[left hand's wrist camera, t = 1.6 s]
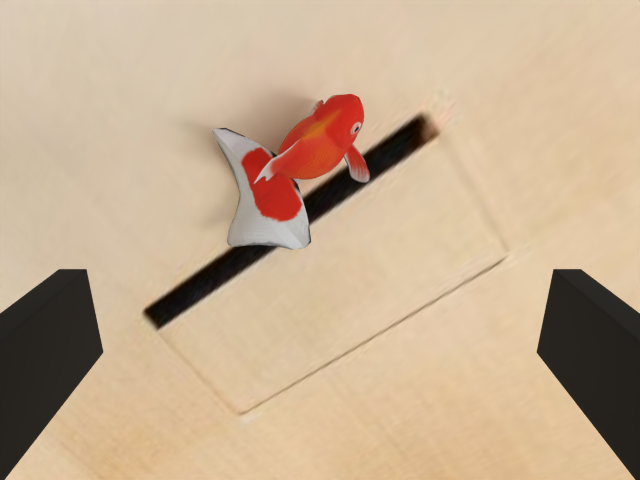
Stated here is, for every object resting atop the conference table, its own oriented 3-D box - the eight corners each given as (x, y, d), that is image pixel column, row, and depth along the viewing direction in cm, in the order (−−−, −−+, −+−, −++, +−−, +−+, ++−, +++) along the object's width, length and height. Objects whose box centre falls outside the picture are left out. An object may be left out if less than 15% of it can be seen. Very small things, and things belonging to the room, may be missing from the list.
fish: (425, 200, 34) (371, 223, 26) (279, 257, 43) (204, 287, 35) (375, 71, 34) (304, 53, 26) (239, 154, 43) (154, 159, 35)
